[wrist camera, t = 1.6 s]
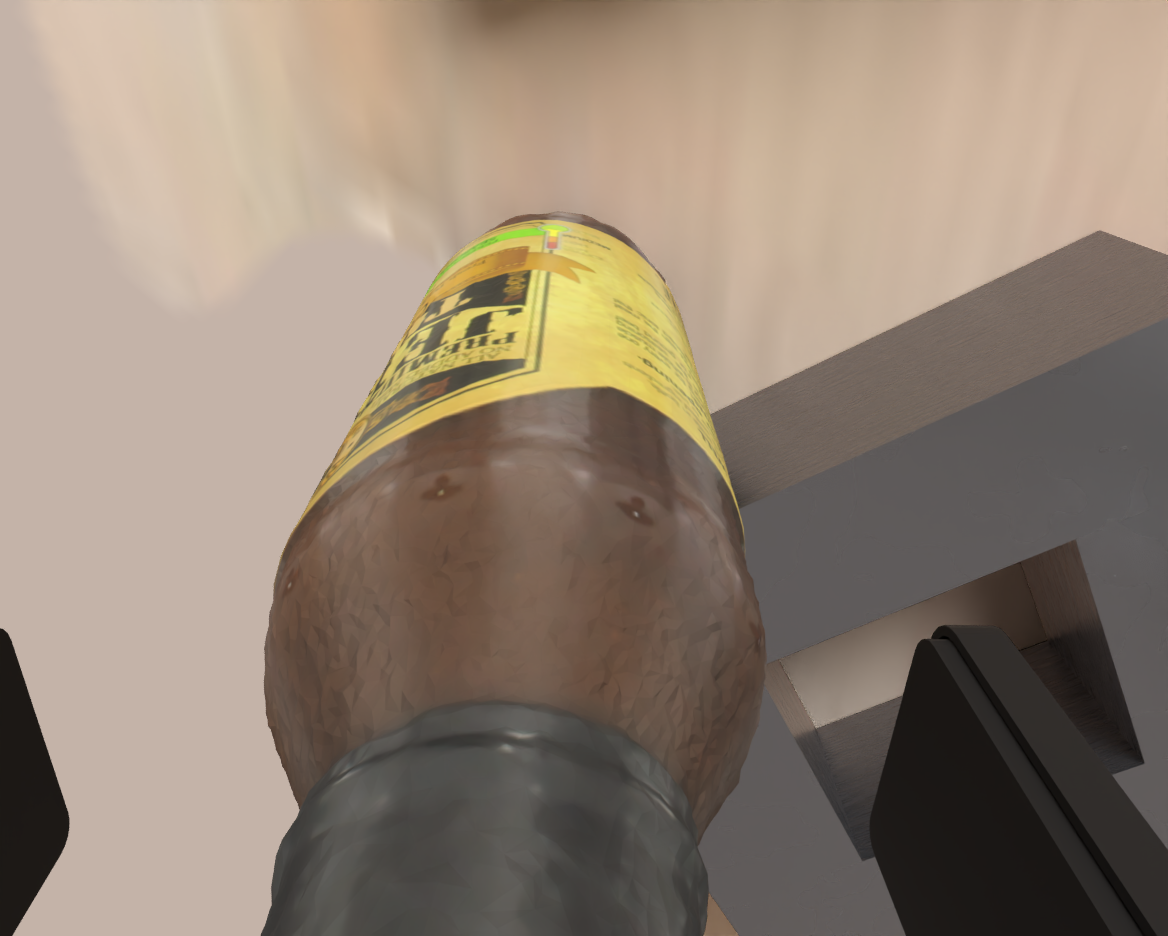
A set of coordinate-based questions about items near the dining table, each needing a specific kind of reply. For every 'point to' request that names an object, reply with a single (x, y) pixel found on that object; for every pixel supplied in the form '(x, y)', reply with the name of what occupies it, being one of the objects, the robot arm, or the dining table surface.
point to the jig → (951, 550)
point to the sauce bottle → (517, 616)
